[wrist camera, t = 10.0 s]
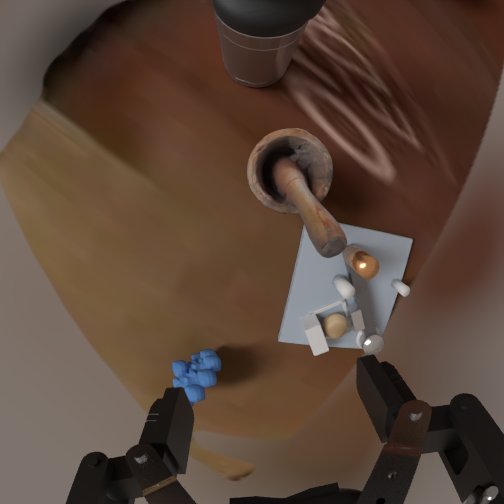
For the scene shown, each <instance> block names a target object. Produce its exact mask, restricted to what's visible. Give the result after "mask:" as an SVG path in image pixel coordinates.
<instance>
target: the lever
mask: <svg viewBox="0 0 504 504" xmlns="http://www.w3.org/2000/svg"><path fill="white" fill-rule="evenodd" d="M342 255H343V258H344V262H345V266H346V269H347V273H348V277H349V281H350V284H351V285H352V286H353V287H354V288H355V294H354V296H353V297H354V301H355V302H353V303H351V304H348V305H346V310H347V314H348V318H349V322H350V325H351V327H352V328H353V330H354V331H355V333H356V332H359V331H362V335H361V336H360V339H359V343H360V345H361V347H362V348H363V350H364V352H365V353H366V354H367V355H370V354H374V355H375V354H377V353H378V352H380V350H382V348H383V346H384V340H383V338H382V337H381V336H380V335H379V333H378V332H377V331H376V327H375V321H374V316H373V311H372V307H371V302H370V297H369V293H368V288H367V284H366V279H367V280H368V279H372V278H374V277H375V276H376V275H377V274H378V272H379V268H380V266H379V262H378V261H377V260H376V259H375V258H374V257H372V256H371V255H369V254H368V253H367V252H365V251H364V250H362V249H361V248H359V247H358V246H356V245H355V244H354V243H352V244H349V245H347V246H346V248H345V249H344V251H343V252H342Z"/></svg>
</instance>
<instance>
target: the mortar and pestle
mask: <svg viewBox="0 0 504 504" xmlns="http://www.w3.org/2000/svg"><path fill="white" fill-rule="evenodd" d="M247 178H248V183H249V186H250V188H251V191H252V193H253V194H254V195H255V196H256V198H257V199H258V200H259V201H260V202H261V203H262V204H263V205H265V206H266V207H269V208H271V209H273V210H274V211H276V212H280V213H283V214H287V213H288V214H297V213H300V215H301V217H302V219H303V222H304V225H305V228H306V231H307V233H308V236H309V238H310V240H311V242H312V244H313V245H314V247H315V248H316V251H317V252H318V253H319V254H320V255H321V256H322V257H325V258H332V257H334V256H337V255H339V254H340V253H341V252H343V251H344V249H345V248H346V246H347V238H346V236H345V233H344V231H343V230H342V228H341V227H340V225H339V224H338V222H337V221H336V220H335V219H334V218H333V216H332V215H331V214H330V213H329V212H328V211H327V210H326V209H325V208H324V207H323V206H322V205H321V204H320V202H321V201H322V200H323V199H324V198H325V197H326V195H327V193H328V191H329V189H330V186H331V182H332V179H333V166H332V159H331V157H330V154H329V152H328V151H327V149H326V148H325V146H324V145H323V144H322V143H321V142H320V141H319V140H318V139H317V138H316V137H315V136H313V135H311V134H310V133H308V132H307V131H306V130H303V129H298V128H294V129H291V128H288V129H281V130H278V131H274V132H272V133H270V134H269V135H267V136H265V137H264V138H263V139H262V140H261V141H260V142H258V144H257V145H256V146H255V148H254V149H253V151H252V153H251V155H250V157H249V160H248V164H247Z"/></svg>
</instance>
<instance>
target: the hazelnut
mask: <svg viewBox="0 0 504 504" xmlns="http://www.w3.org/2000/svg"><path fill="white" fill-rule="evenodd" d="M322 329H323V332H324V334H325V335H326V336H328V337H329V338H332V339H337V338H340V337H342V336H343V335H344V334H345V333H346V331H347V329H348V322H347V320H346V318H345V317H344V316H343V315H342V314H339V313H331V314H329V315H328V316H326V317H325V319H324V320H323V323H322Z"/></svg>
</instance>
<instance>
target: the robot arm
mask: <svg viewBox="0 0 504 504" xmlns="http://www.w3.org/2000/svg"><path fill="white" fill-rule="evenodd" d="M212 1H213V7H214V12H215V17H216V22H217V27H218V33H219V38H220V44H221V50H222V56H223V61H224V66H225V69H226V71H227V73H228V75H229V76H230V77H231V78H232V79H233V80H235V81H236V82H237V83H239V84H241V85H243V86H247V87H253V88H260V87H266V86H269V85H272V84H274V83H276V82H277V81H278V80H279V79H281V78H282V76H283V75H284V74H285V72H286V70H287V67H288V65H289V63H290V61H291V59H292V56H293V54H294V52H295V50H296V48H297V45H298V43H299V41H300V39H301V36H302V34H303V32H304V30H305V27H306V25H307V23H308V21H309V20H310V19H312V18H313V17H315V16H316V15H317V13H318V12H319V11H320V9H321V8H322V6H323V4H324V3H325V1H326V0H212ZM356 383H357V390H358V393H359V396H360V398H361V400H362V402H363V404H364V406H365V408H366V411H367V413H368V415H369V417H370V419H371V421H372V423H373V425H374V427H375V430H376V432H377V434H378V436H379V438H380V441H381V443H385V442H387V444H386V445H384V447H383V449H382V451H381V453H380V455H379V458H378V460H377V462H376V464H375V467H374V469H373V471H372V473H371V475H370V477H369V479H368V481H367V483H366V485H365V487H364V489H363V491H360V490H356V489H347V488H339V487H338V484H337V483H332V484H328V485H324V486H319V487H314V488H310V489H308V490H305V491H303V492H300V493H298V494H295V495H292V496H290V497H287V498H270V497H259V496H254V497H241V498H230V504H403V503H404V501H405V498H406V496H407V494H408V491H409V488H410V486H411V483H412V480H413V478H414V475H415V472H416V469H417V466H418V463H419V460H420V457H421V454H424V453H432V452H438V453H439V455H440V457H441V459H442V461H443V463H444V465H445V467H446V470H447V471H448V474H449V476H450V478H451V480H452V482H453V484H454V486H455V489H456V491H457V493H458V495H459V497H460V500H461V502H462V504H504V434H503V433H502V431H501V430H500V428H499V427H498V426H497V424H496V423H495V421H494V420H493V419H492V417H491V416H490V414H489V413H488V412H487V410H486V409H485V408H484V406H483V405H482V404H481V402H480V401H479V400H478V399H477V398H476V397H475V396H473V395H472V394H467V393H463V394H459V395H457V396H455V397H454V398H453V399H452V400H451V402H450V405H443V406H436V407H431V406H430V405H429V404H428V403H426V402H424V401H421V400H417V399H416V397H415V396H414V395H413V393H412V392H411V390H410V389H409V387H408V386H407V384H406V383H405V381H404V380H402V377H401V376H400V375H399V373H398V371H397V370H396V369H395V367H394V366H393V365H391V364H389V363H387V362H386V361H385V362H381V363H379V362H378V360H377V359H376V357H375V355H374V354H370V355H367V356H363V357H359V358H357V381H356ZM193 425H194V413H193V409H192V407H191V404H190V402H189V400H188V397H187V395H186V392H185V390H184V388H183V387H172V388H166V390H165V393H164V396H163V398H162V399H157V400H156V401H155V402H154V403H153V405H152V406H151V408H150V411H149V415H148V417H147V422H146V423H145V426H144V429H143V432H142V435H141V438H140V441H139V444H137V445H134V446H132V447H131V448H130V449H129V450H128V451H127V452H126V455H125V456H121V457H115V458H109V459H108V458H107V456H106V455H105V454H103V453H101V452H92V453H89V454H87V455H86V456H85V457H84V458H83V459H82V461H81V463H80V466H79V468H78V471H77V474H76V476H75V479H74V482H73V484H72V487H71V490H70V493H69V496H68V499H67V502H66V504H134V502H135V498H139V497H144V498H145V499H146V501H147V502H148V504H197V503H196V502H195V501H194V500H193V498H192V497H191V496H190V495H189V494H188V492H187V491H186V490H185V489H184V488H183V486H182V485H181V484H180V482H179V481H178V480H177V479H176V477H177V474H185V473H186V467H187V461H188V455H189V449H190V443H191V437H192V431H193Z"/></svg>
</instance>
